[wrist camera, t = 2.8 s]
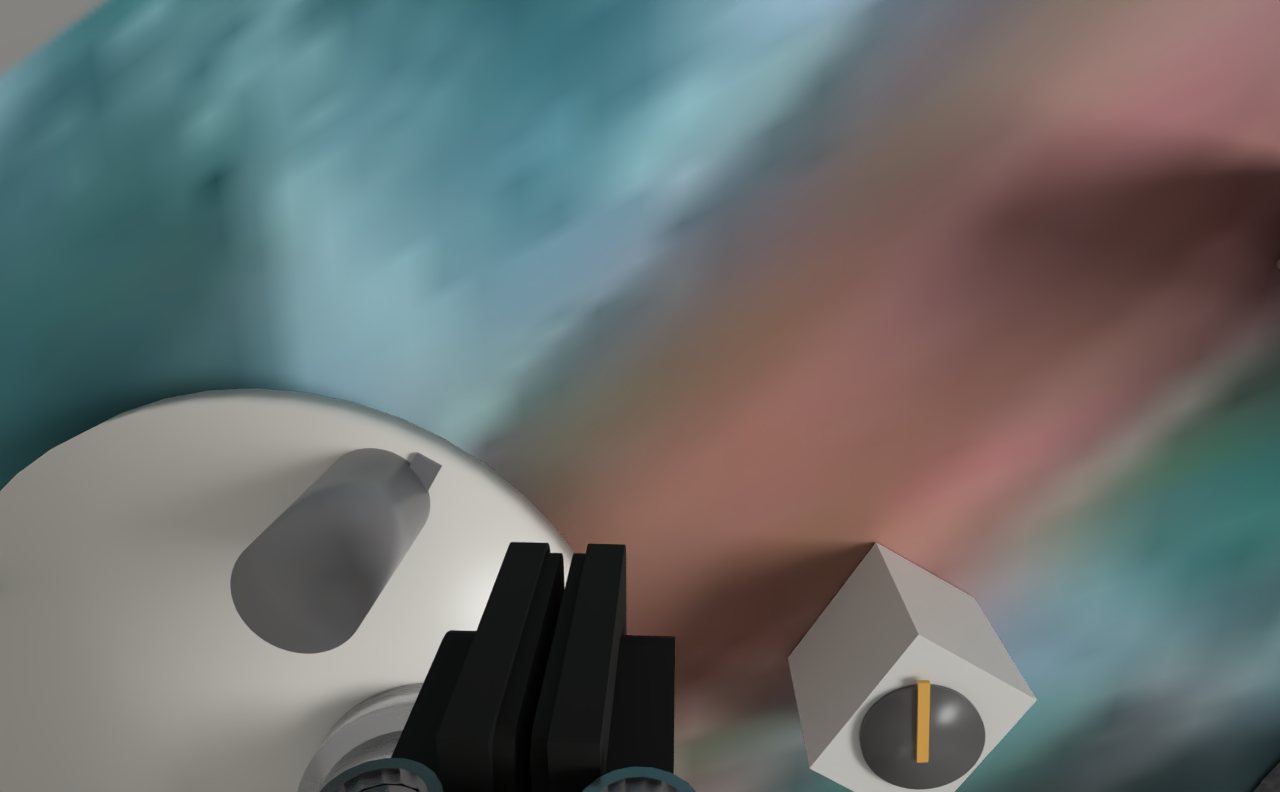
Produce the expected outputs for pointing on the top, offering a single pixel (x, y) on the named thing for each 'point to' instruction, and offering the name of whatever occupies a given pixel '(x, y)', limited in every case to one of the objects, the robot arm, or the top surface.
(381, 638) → the white disc with knobs
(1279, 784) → the pillar candle
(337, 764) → the door knob
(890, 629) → the dial gauge
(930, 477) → the top surface
